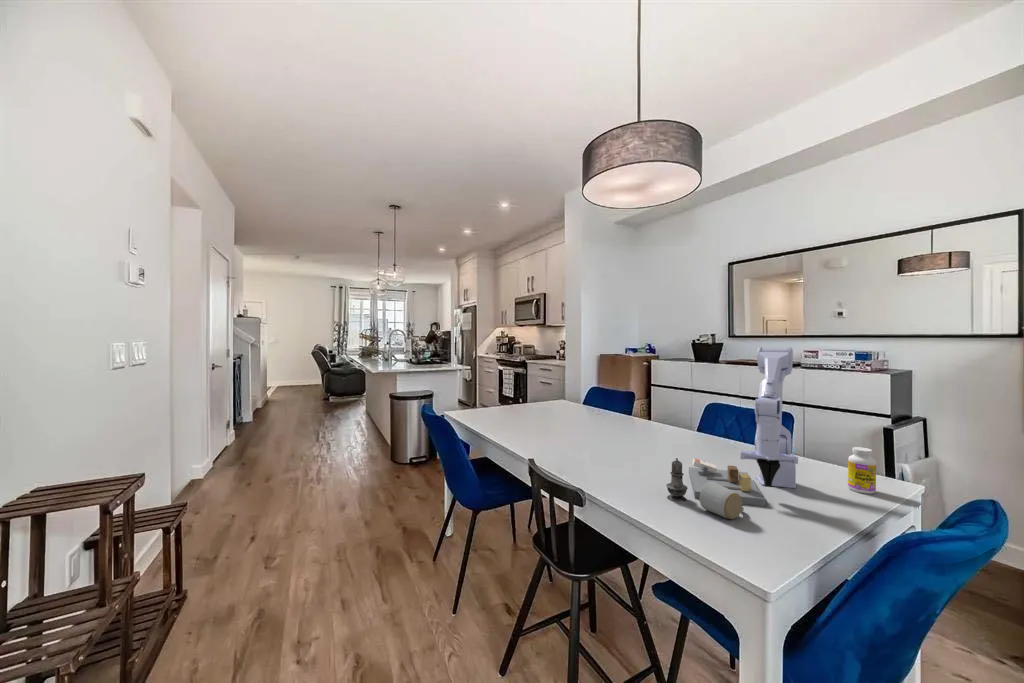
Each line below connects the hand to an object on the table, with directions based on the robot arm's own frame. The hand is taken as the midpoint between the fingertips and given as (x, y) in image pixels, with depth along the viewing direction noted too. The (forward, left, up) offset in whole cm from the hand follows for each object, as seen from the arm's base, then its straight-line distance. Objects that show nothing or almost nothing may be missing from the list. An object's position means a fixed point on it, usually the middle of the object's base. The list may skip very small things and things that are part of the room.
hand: (767, 485), depth 122 cm
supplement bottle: (-29, -17, -4) cm, 34 cm away
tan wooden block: (+6, 0, -2) cm, 6 cm away
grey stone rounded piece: (+25, +8, -4) cm, 27 cm away
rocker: (+15, -14, 0) cm, 21 cm away
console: (+11, -6, -4) cm, 13 cm away
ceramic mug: (+14, +15, -4) cm, 20 cm away
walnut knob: (+8, -7, -2) cm, 11 cm away
